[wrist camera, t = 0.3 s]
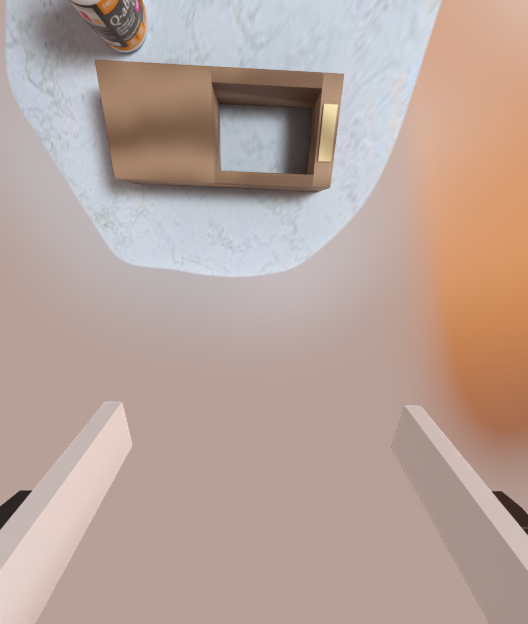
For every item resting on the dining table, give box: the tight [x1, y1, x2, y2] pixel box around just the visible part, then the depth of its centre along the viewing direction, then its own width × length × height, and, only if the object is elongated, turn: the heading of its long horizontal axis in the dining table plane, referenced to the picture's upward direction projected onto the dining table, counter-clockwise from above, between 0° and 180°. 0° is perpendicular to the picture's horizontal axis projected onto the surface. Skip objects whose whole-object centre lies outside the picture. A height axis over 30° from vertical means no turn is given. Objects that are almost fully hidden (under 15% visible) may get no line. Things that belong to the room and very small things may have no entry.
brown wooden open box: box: [95, 60, 344, 191], centre depth 28 cm, size 10×24×5 cm, turn 88°
